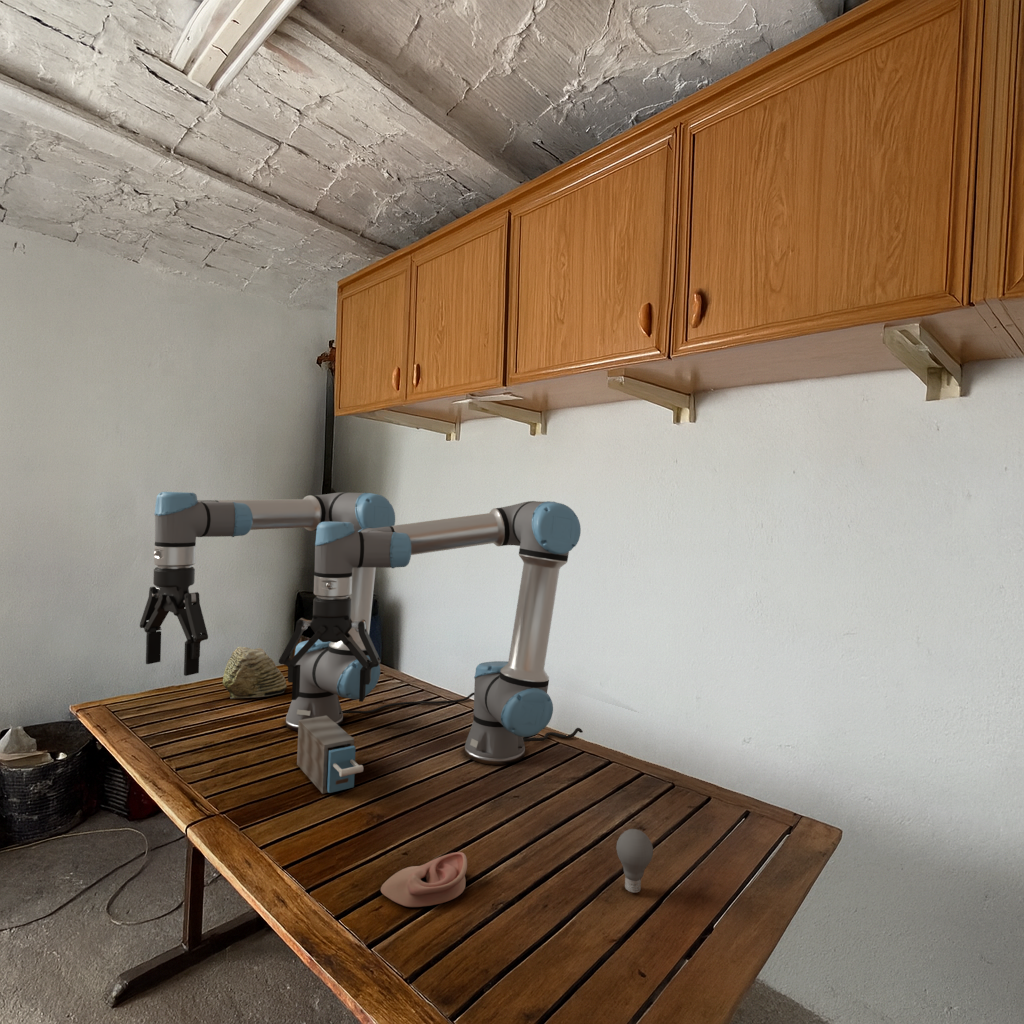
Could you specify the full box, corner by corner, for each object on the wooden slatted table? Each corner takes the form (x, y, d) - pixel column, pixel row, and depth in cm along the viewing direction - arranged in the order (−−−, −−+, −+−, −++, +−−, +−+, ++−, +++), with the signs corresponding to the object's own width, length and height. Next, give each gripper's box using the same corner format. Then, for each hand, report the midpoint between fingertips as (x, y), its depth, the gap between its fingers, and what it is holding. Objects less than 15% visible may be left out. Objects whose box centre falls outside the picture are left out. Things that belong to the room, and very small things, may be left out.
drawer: (364, 797, 133) (365, 756, 132) (338, 803, 129) (340, 761, 129) (327, 760, 150) (328, 723, 150) (304, 765, 147) (305, 728, 146)
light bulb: (610, 879, 108) (613, 822, 108) (644, 879, 109) (647, 822, 109) (619, 902, 102) (622, 840, 102) (655, 901, 103) (658, 840, 103)
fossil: (218, 695, 195) (220, 647, 195) (278, 685, 208) (279, 640, 207) (228, 703, 189) (230, 653, 188) (289, 692, 201) (290, 645, 201)
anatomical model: (373, 876, 100) (400, 838, 111) (372, 901, 100) (399, 861, 111) (454, 890, 97) (473, 850, 108) (452, 915, 97) (472, 873, 108)
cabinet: (352, 786, 139) (354, 739, 139) (322, 794, 135) (324, 745, 135) (324, 758, 153) (326, 715, 153) (296, 764, 149) (298, 720, 149)
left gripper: (123, 562, 134) (120, 661, 135) (193, 573, 121) (190, 683, 122) (158, 560, 141) (155, 655, 141) (228, 570, 128) (225, 675, 128)
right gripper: (264, 597, 126) (261, 703, 127) (390, 601, 127) (386, 706, 128) (277, 591, 134) (273, 691, 134) (395, 595, 135) (392, 694, 135)
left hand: (171, 668), depth 131 cm, fingers open, 13 cm apart
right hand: (328, 699), depth 131 cm, fingers open, 13 cm apart
